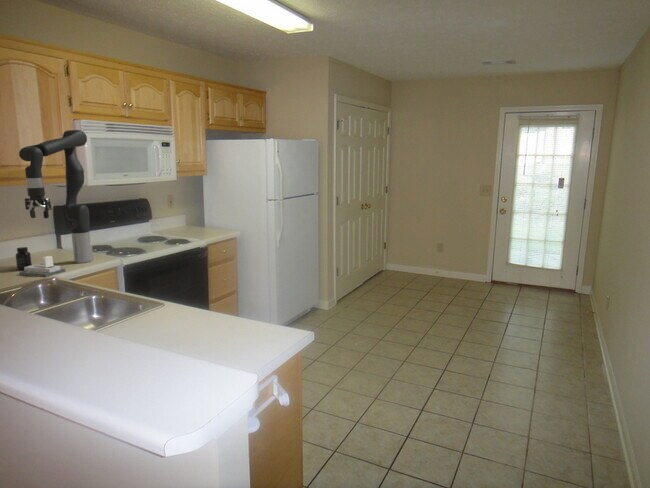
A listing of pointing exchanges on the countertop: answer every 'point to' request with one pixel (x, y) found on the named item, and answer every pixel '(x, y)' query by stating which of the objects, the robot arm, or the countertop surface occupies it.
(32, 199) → the robot arm
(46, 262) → the fader
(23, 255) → the supplement bottle
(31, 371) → the countertop surface
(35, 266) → the console
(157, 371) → the countertop surface
